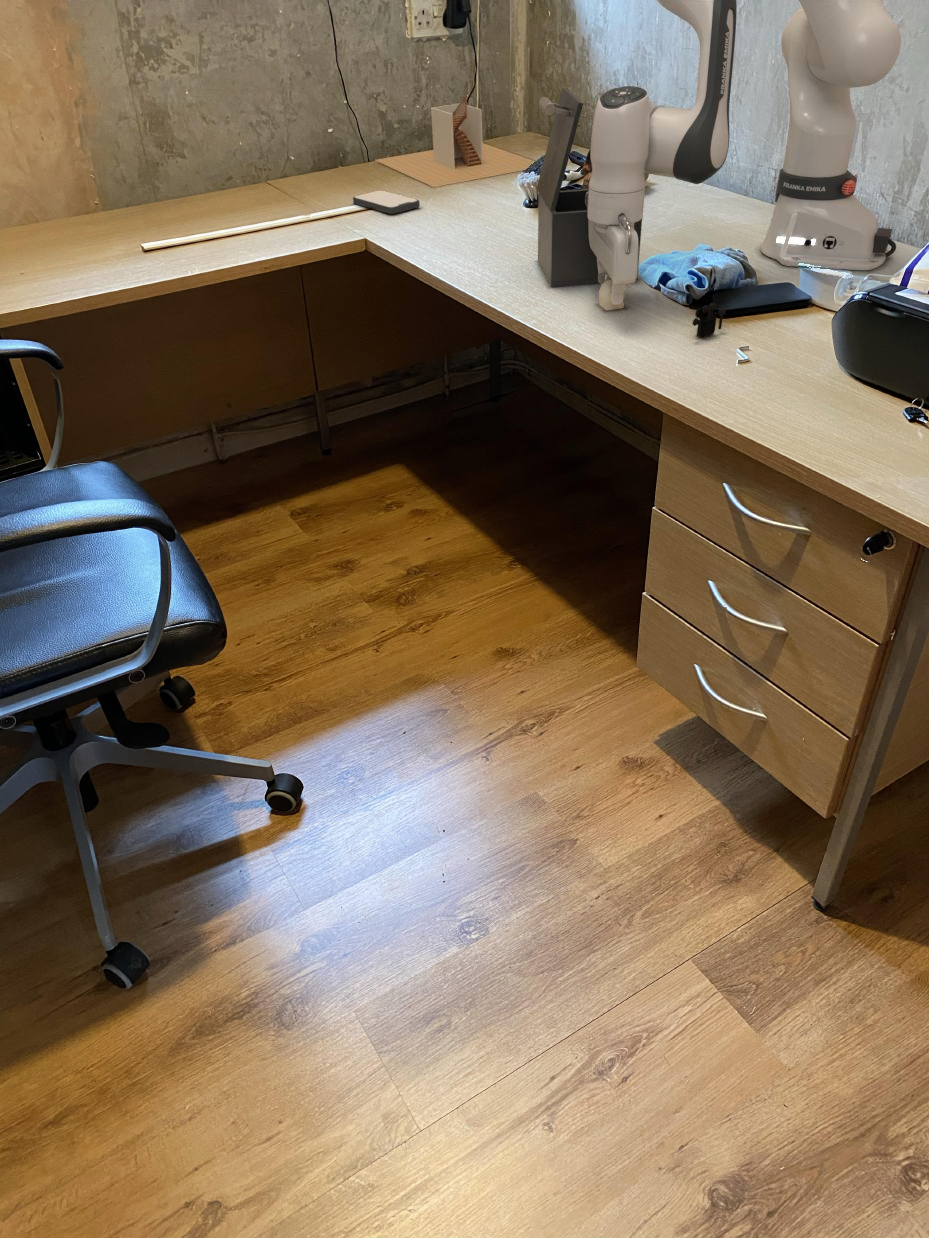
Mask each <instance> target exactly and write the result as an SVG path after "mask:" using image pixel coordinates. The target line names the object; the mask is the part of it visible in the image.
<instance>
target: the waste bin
mask: <svg viewBox="0 0 929 1238" xmlns="http://www.w3.org/2000/svg"><path fill="white" fill-rule="evenodd" d="M587 192H589V189H582V188H581V189H568V190H560V193H559V197H558V201H557V205H556V208H555V212H553V211H550V209H549V208H548V206H547V205H546V203H545V202H544V200H543V198H542V197H541V195H540V194H539V193H538V201H537V202H538V203H537V204H538V209H537V210H538V213H537V214H538V218H537V219H538V221H537V227H538V228H537V263H538V264H539V267H540V268H541V271H542V272H543V274H544V276H545V278H546V280H547V282H548V285H549V286H550V287H551V288H557V287H568V286H569V287H570V286H580V285H581V286H583V285H594V284H595V285H596V284H600V283H599V282H598V266H597V257H596V255H595V254H594V252H593V251H592V249H591V248H590V243H589V229H588V217H587V213H588V210H587V206H586V203H585V200H586V193H587ZM642 225H643V218H642V219H641V220H640V221H638V222H635V223H634V230H635V231H636V233H637V235H638V267H639V265H640V253H641V252H640V251H641V239H642ZM638 278H639V271H638V272H637V278H636V281H638V280H639V279H638ZM610 280H612V279H611V278H610Z"/></svg>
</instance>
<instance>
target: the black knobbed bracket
mask: <svg viewBox="0 0 929 1238" xmlns="http://www.w3.org/2000/svg"><path fill="white" fill-rule="evenodd" d="M716 308H717V304H716V302H710V303H709V304H708V305H707V304H704V305H703V306H702V307H699V308H697V309H696V310H695V312H694V316H695V318H693V320H692V323H691V324H692V326H693V327H696V326H697V330H696V336H695V337H696V338H703V339H704V338H707V337H709V336H712V335H713V334H714V333H715V331H716V325H717V315H718V316H719V321H718V330H722V327H723V326H722V325H723V318H724V316H725V315H726V309H724V308H720V309H719V310H718V311H717V315H715V314H714V310H715V309H716Z"/></svg>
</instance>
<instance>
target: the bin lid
mask: <svg viewBox="0 0 929 1238" xmlns="http://www.w3.org/2000/svg"><path fill="white" fill-rule="evenodd" d="M538 106H539V108H540V109H541V111H543V112H544V114H546V115H547V116H548V117H551V116H554V119H553V122H552V127H551V130H550V134H549V137H548V142H547V146H546V150H545V155H544V159H543V162H542V164H543V166H542V167H541V170H540V175H539V178H538V182H537V187H536V191H537V192H538V195H539V194H540V195H541V197H542V198H543V200H544V202H545V203H546V205H547V206H548V208H549V209H550V211H553V212H555V208H556V205H557V201H558V197H559V193H560V191H562V189H561V188H562V186H563V182H564V178H565V174H566V170H567V167H568V163H569V159H570V155H571V151H572V148H573V145H574V141H575V137H576V133H577V129H578V125H579V121H580V117H581V114H582V110H583V106H584V103H583V102H582V101H581V100H580V99H579V98H577V96H575V94H573V93H572V92H571V91H570V90H569V89H568V88H566V87H561V91H560V94H559V99H558V103H556V102H552V101H551V100H550V99H549V98H548V97H546V96H542V97H541V98H540V99H539V101H538Z"/></svg>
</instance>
